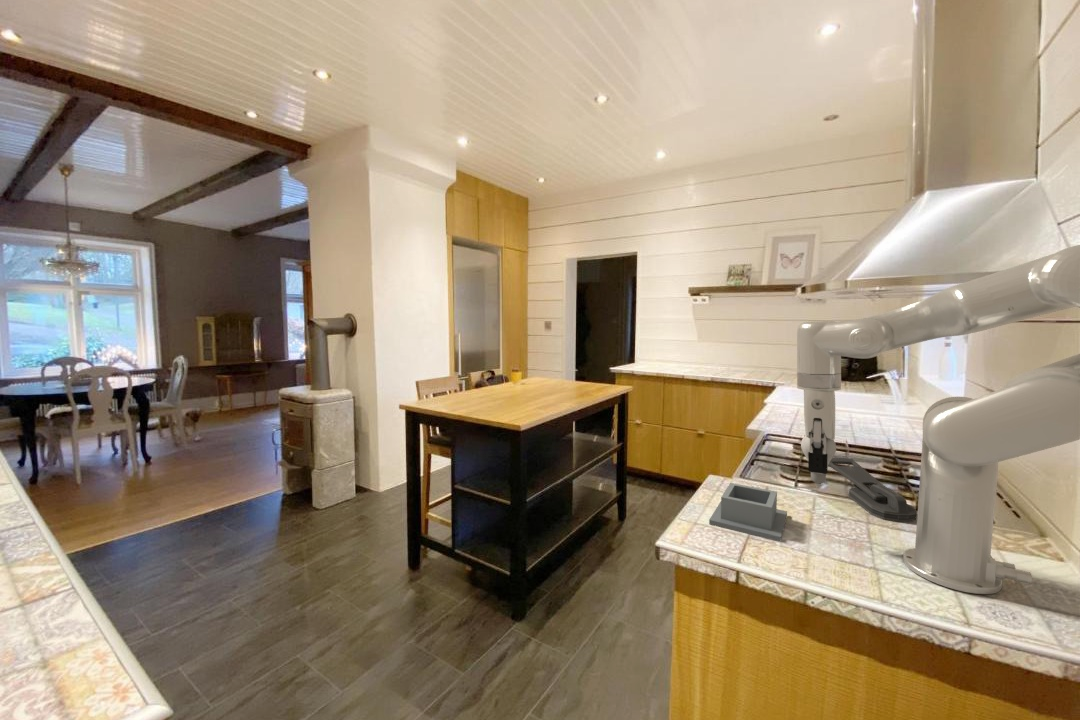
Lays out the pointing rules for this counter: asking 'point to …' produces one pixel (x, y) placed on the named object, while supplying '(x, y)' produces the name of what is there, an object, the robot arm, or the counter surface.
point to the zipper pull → (874, 493)
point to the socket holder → (750, 512)
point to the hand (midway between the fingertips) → (818, 466)
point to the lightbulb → (830, 452)
